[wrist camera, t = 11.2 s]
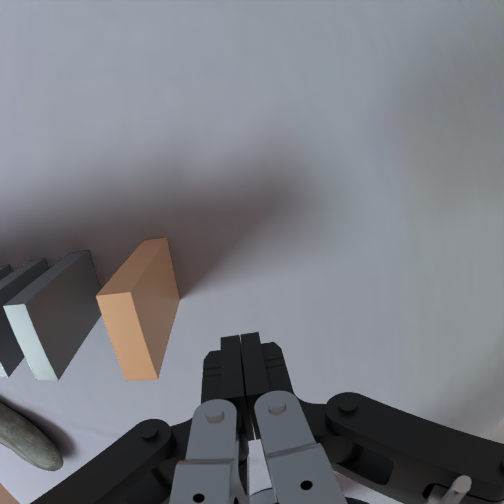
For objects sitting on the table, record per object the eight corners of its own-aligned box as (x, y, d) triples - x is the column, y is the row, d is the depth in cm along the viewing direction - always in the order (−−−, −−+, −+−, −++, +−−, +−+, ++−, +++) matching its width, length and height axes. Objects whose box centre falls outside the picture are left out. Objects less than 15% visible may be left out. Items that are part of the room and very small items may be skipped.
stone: (67, 433, 28) (-19, 373, 28) (52, 452, 24) (-37, 385, 24) (67, 477, 30) (-11, 424, 29) (56, 495, 26) (-25, 437, 26)
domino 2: (89, 249, 22) (24, 304, 13) (106, 308, 24) (58, 380, 15) (70, 253, 22) (3, 306, 13) (87, 310, 24) (36, 379, 15)
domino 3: (166, 237, 23) (130, 292, 13) (179, 299, 24) (158, 379, 15) (143, 240, 22) (95, 295, 13) (157, 302, 24) (126, 380, 15)
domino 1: (44, 257, 22) (-24, 308, 13) (62, 312, 24) (8, 377, 15) (29, 260, 22) (-39, 309, 13) (47, 313, 24) (-8, 375, 15)
